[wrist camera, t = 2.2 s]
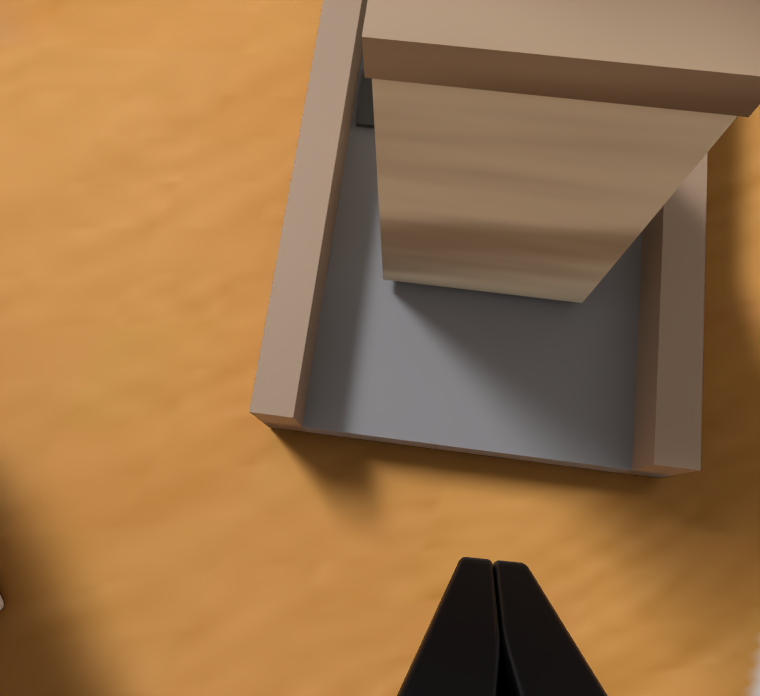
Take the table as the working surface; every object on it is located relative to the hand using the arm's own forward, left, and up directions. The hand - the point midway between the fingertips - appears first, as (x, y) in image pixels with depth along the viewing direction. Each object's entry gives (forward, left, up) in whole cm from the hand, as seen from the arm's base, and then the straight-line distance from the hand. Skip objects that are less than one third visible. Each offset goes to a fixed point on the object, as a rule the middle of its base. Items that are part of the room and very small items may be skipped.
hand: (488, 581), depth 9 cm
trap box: (+13, -3, -12) cm, 18 cm away
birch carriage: (+10, -3, -10) cm, 15 cm away
